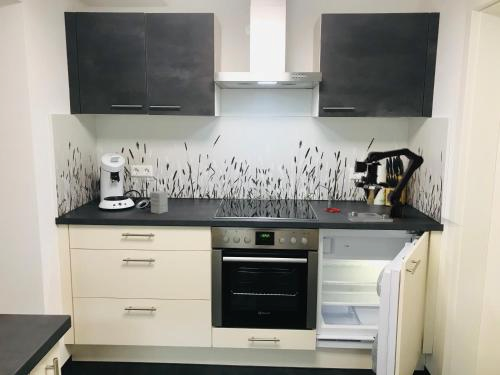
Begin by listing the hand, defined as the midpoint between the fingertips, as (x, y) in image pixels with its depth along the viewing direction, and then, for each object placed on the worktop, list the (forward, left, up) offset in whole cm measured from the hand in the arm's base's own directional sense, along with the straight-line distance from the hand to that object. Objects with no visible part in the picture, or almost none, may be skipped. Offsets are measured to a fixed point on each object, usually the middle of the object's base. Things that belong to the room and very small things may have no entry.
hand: (370, 199), depth 240 cm
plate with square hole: (+3, +10, -10) cm, 15 cm away
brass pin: (0, 0, -3) cm, 3 cm away
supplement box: (+127, -9, -11) cm, 128 cm away
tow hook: (+19, -15, -11) cm, 26 cm away
